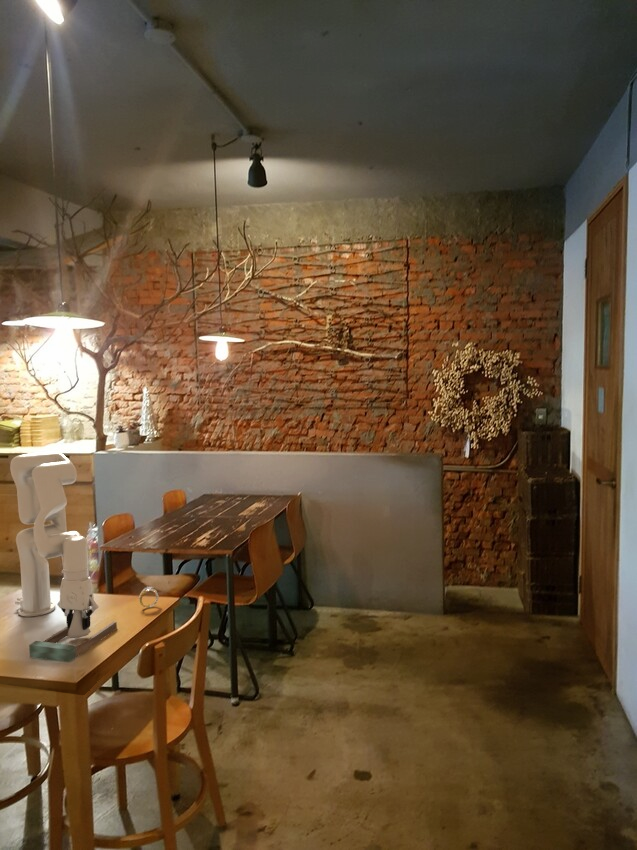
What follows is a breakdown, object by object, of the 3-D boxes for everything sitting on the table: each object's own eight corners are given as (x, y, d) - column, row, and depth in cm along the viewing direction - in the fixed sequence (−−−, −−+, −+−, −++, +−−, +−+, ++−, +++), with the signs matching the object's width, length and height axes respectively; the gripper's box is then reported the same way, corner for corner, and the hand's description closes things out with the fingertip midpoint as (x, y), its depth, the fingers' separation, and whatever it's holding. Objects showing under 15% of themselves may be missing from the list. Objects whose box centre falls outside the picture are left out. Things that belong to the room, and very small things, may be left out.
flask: (90, 628, 204) (89, 599, 203) (90, 636, 197) (89, 607, 196) (67, 631, 201) (66, 602, 200) (67, 640, 194) (65, 610, 193)
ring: (157, 604, 229) (157, 584, 229) (159, 607, 226) (158, 586, 226) (139, 607, 226) (138, 587, 226) (140, 610, 223) (139, 589, 223)
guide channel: (29, 657, 187) (29, 645, 186) (80, 625, 211) (80, 614, 211) (69, 662, 183) (68, 649, 183) (116, 628, 207) (116, 617, 207)
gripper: (46, 576, 196) (49, 629, 197) (92, 579, 191) (94, 634, 193) (61, 568, 203) (63, 620, 204) (105, 572, 199) (108, 625, 200)
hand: (78, 626), depth 199 cm, fingers closed on flask, 5 cm apart
